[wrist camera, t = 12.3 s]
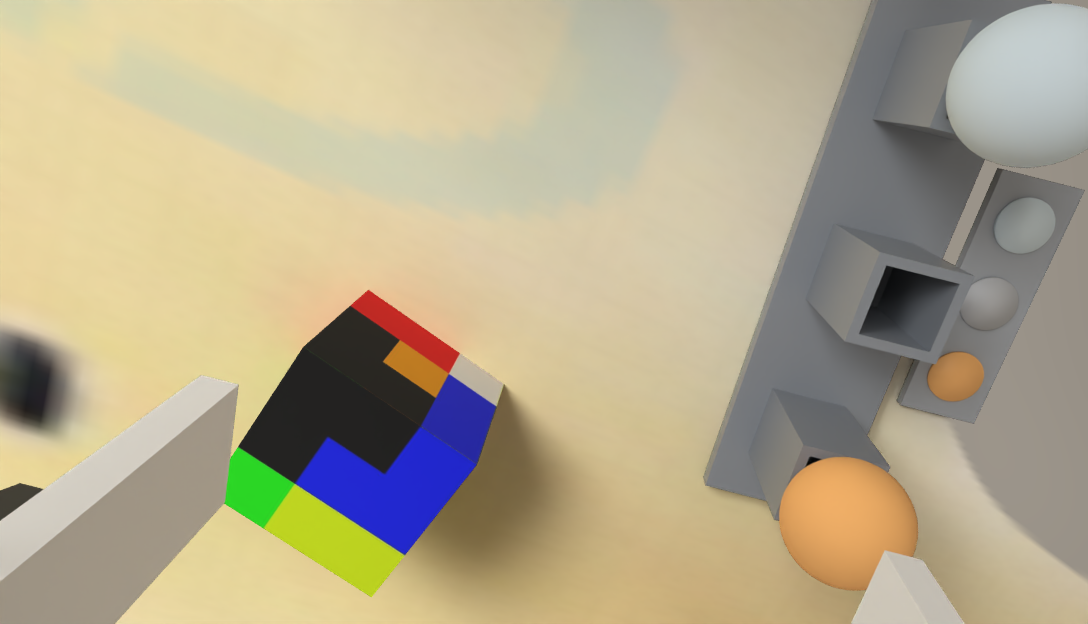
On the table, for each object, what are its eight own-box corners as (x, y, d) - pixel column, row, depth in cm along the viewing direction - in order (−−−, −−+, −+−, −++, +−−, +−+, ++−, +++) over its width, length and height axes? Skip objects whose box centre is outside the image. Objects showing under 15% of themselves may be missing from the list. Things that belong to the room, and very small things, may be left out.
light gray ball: (955, -5, 30) (1036, -26, 24) (1097, 30, 30) (1212, 19, 24) (899, 140, 32) (962, 153, 26) (1032, 174, 32) (1126, 195, 26)
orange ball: (791, 421, 36) (824, 486, 31) (909, 452, 36) (964, 522, 31) (751, 521, 38) (775, 600, 32) (863, 550, 38) (907, 634, 32)
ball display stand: (884, -36, 37) (957, -66, 29) (1040, 3, 37) (1154, -17, 29) (703, 476, 46) (722, 555, 38) (827, 508, 46) (871, 593, 38)
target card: (997, 168, 39) (1005, 169, 38) (1077, 188, 39) (1087, 190, 38) (896, 400, 43) (901, 406, 43) (968, 419, 43) (975, 425, 43)
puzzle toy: (504, 383, 45) (477, 464, 36) (417, 495, 48) (371, 597, 39) (368, 289, 44) (303, 346, 35) (288, 409, 47) (207, 492, 37)
